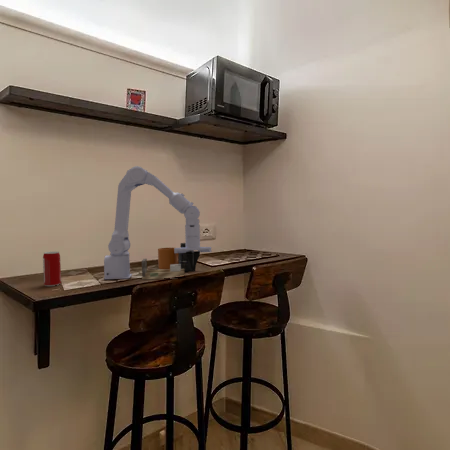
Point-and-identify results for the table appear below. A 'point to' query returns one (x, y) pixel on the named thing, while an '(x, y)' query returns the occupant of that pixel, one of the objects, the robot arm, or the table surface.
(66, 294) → the table surface
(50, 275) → the soda can
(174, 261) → the mug
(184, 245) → the supplement bottle
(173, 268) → the carriage
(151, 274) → the gauge bed
